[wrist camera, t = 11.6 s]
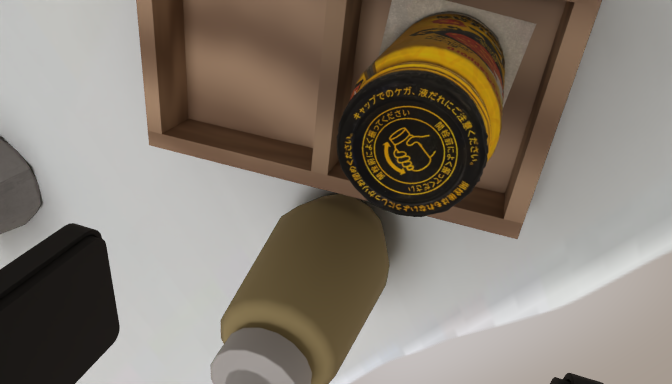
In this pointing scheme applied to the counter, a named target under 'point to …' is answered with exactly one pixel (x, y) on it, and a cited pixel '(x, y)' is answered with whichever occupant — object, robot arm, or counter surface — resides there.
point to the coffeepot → (16, 189)
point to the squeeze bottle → (305, 296)
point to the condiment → (430, 105)
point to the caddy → (336, 89)
